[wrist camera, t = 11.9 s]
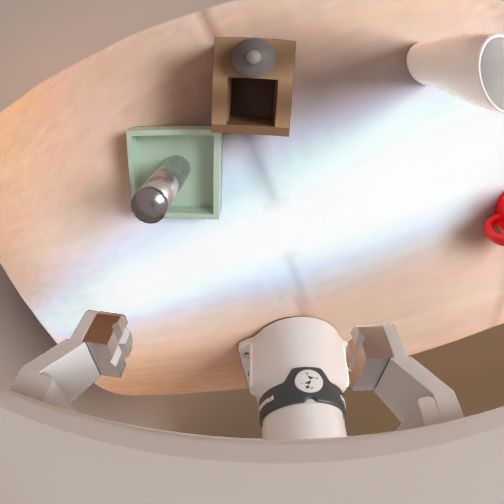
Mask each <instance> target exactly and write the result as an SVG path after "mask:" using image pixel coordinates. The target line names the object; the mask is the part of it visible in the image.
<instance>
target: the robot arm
mask: <svg viewBox="0 0 504 504" xmlns="http://www.w3.org/2000/svg"><path fill="white" fill-rule="evenodd" d="M127 323H128V321H127V319H126V316H125V315H123V314H116V313H109V312H102V311H94V310H88V311H86V312H85V314H84V316H83V317H82V319H81V321H80V322H79V324H78V326H77V328H76V329H75V331H74V333H73V335H72V336H71V338H70V339H66V340H64V341H62V342H61V343H59V344H58V345H56V346H55V347H53V348H52V349H50V350H48V351H47V352H45V353H44V354H42V355H40V356H39V357H37V358H36V359H34V360H33V361H31V362H30V363H28V364H26V365H25V366H23V367H22V369H21V371H20V373H19V374H18V376H17V378H16V380H15V382H14V383H13V385H12V387H11V389H10V390H7V389H5V388H2V387H0V504H504V406H503V407H500V408H497V409H493V410H490V411H487V412H483V413H479V414H476V415H472V416H468V417H464V416H463V413H462V411H461V408H460V405H459V403H458V400H457V397H456V395H455V392H454V391H453V390H452V389H451V388H449V387H448V386H447V385H446V384H444V383H443V382H442V381H441V380H439V379H438V378H437V377H436V376H435V375H433V374H432V373H431V372H430V371H428V370H427V369H426V368H424V367H423V366H422V365H421V364H420V363H418V362H417V361H416V360H415V359H413V358H412V357H407V354H406V352H405V349H404V346H403V344H402V341H401V339H400V336H399V334H398V331H397V329H396V327H395V325H394V324H387V325H355V326H354V327H353V329H352V332H351V335H352V339H351V340H350V341H349V342H347V341H345V340H343V339H342V338H341V337H340V336H339V334H338V332H337V331H336V330H335V328H334V327H333V326H331V325H330V324H328V323H327V322H325V321H322V320H320V319H316V318H311V317H292V318H286V319H282V320H279V321H276V322H274V323H271V324H270V325H268V326H266V327H265V328H263V329H262V330H261V331H260V332H259V333H257V334H256V335H255V336H253V337H251V338H248V339H245V340H243V341H241V342H240V343H239V344H238V351H239V354H240V358H241V362H242V365H243V369H244V373H245V376H246V380H247V383H248V387H249V390H250V393H251V394H252V395H254V396H255V397H256V400H257V403H258V405H259V411H258V415H259V420H260V426H261V427H262V439H249V438H231V437H217V436H206V435H195V434H187V433H179V432H171V431H164V430H158V429H151V428H146V427H140V426H134V425H130V424H124V423H120V422H115V421H110V420H106V419H101V418H97V417H93V416H89V415H85V414H82V413H78V412H75V411H74V409H73V408H72V406H71V405H70V403H72V402H73V401H74V400H75V399H76V398H77V397H78V396H79V395H80V394H82V393H83V392H84V391H85V390H86V389H87V388H88V387H89V386H90V385H91V384H92V383H94V382H95V381H96V380H97V379H98V378H99V377H100V376H101V375H105V376H111V377H118V378H121V376H122V373H123V371H124V368H125V365H126V363H125V361H124V359H125V358H126V357H128V356H129V355H130V352H131V349H132V335H131V331H130V330H129V329H128V328H127V327H126V325H127ZM347 367H348V368H349V369H350V370H352V371H351V373H350V376H348V368H347ZM349 377H350V381H351V386H352V390H353V391H361V390H374V391H375V393H376V394H377V395H378V396H379V397H380V398H381V400H382V401H383V402H384V403H385V404H386V405H387V406H388V407H389V408H390V410H391V411H392V412H393V413H394V414H395V415H396V417H397V418H398V419H399V420H400V421H401V422H402V423H401V424H400V426H399V427H398V428H397V429H396V431H392V432H385V433H377V434H369V435H359V436H347V434H346V430H345V424H344V419H345V416H346V412H345V409H346V405H345V400H344V397H343V392H344V391H345V390H346V388H347V387H348V386H349Z"/></svg>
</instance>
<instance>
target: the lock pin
mask: <svg viewBox="0 0 504 504" xmlns="http://www.w3.org/2000/svg"><path fill="white" fill-rule="evenodd" d="M189 174H190V164H189V162H188V161H187V160H186V159H185V158H184V157H182V156H178V155H175V156H171V157H169V158H168V159H167V160H166V161H165V162H164V163H163V164H162V165H161V166H160V167H159V168H158V169H157V170H156V171H155V172H154V174H153V175H152V176H151V177H150V178H149V179H148V180H147V181H146V182H145V183H144V184H143V186H142V187H141V188H140V189H139V190H138V191H137V192H136V193H135V195H134V196H133V198H132V201H131V208H132V211H133V213H134V215H135V216H136V217H137V218H138V219H139V220H141V221H143V222H145V223H156V222H159V221H160V220H161V219H162V218H163V217H164V216H165V214H166V212H167V210H168V209H169V207H170V205H171V204H172V202H173V200H174V199H175V197H176V195H177V194H178V192H179V191H180V189H181V187H182V186H183V184H184V182H185V181H186V179H187V178H188V176H189Z"/></svg>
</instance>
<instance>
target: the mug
mask: <svg viewBox="0 0 504 504" xmlns="http://www.w3.org/2000/svg"><path fill="white" fill-rule="evenodd" d="M495 225H496V226H497V228H498V229H499V230H500V231H501V232H502V233H503V234H504V193H503V194H502V196H501V197H500V199H499V201H498V203H497V205H496V209H495V215H493V216H491V217H490V218H488V219H487V221H486V223H485V226H484V230H485V234H486V236H487V237H488V238H489V239H490V240H491V241H492V242H494V243H495V244H498V245H501V246H504V235H501V234H498V233H497V232H495V231H494V229H493V227H494V226H495Z"/></svg>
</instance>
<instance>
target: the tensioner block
mask: <svg viewBox="0 0 504 504" xmlns="http://www.w3.org/2000/svg"><path fill="white" fill-rule="evenodd" d="M295 51H296V41H291V40H280V39H266V38H246V37H214V56H213V83H212V121H211V133H239V134H259V135H274V136H288V137H289V128H290V116H291V104H292V92H293V79H294V65H295ZM233 78H257V79H273V80H275V88H274V103H273V117H256V116H234V115H231V111H232V86H233Z"/></svg>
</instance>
